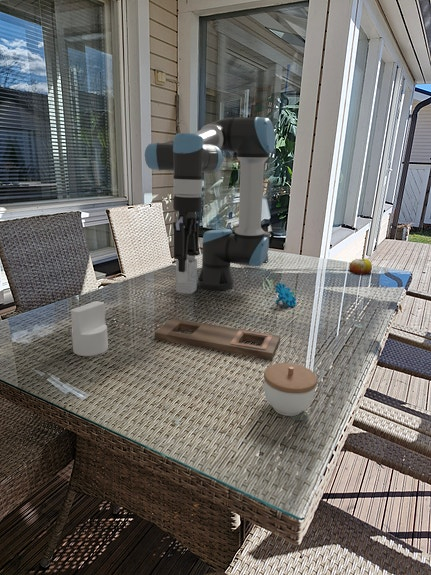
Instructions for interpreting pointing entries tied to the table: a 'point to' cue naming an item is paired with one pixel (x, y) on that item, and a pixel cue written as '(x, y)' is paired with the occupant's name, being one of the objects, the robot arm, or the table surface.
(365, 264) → the fruit
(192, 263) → the steel block
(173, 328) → the walnut rail
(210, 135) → the robot arm
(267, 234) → the coffeepot
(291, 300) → the gear
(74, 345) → the cylinder with rectangular tab
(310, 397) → the lidded jar
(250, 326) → the table surface
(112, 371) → the table surface
